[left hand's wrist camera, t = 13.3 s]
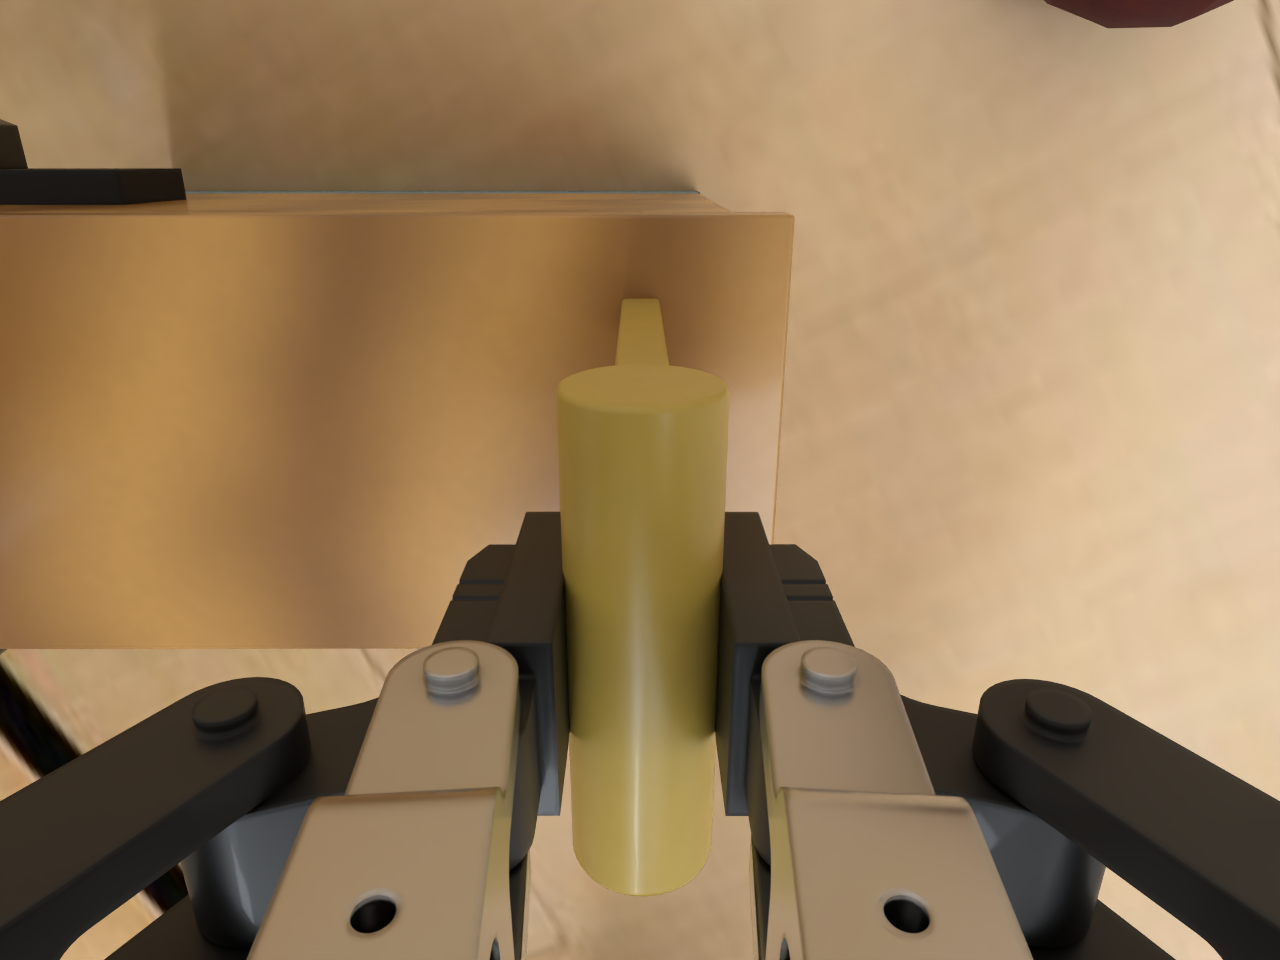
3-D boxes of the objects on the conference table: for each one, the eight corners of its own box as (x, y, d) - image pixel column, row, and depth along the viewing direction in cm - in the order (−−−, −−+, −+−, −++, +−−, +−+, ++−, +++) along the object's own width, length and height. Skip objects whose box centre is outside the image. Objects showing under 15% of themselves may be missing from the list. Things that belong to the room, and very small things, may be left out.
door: (786, 212, 16) (944, 268, 8) (761, 627, 19) (853, 973, 11) (-123, 212, 16) (-934, 268, 8) (10, 628, 19) (-456, 976, 11)
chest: (697, 191, 26) (734, 211, 16) (690, 466, 29) (718, 626, 19) (173, 191, 26) (-121, 212, 16) (227, 466, 29) (11, 627, 19)
